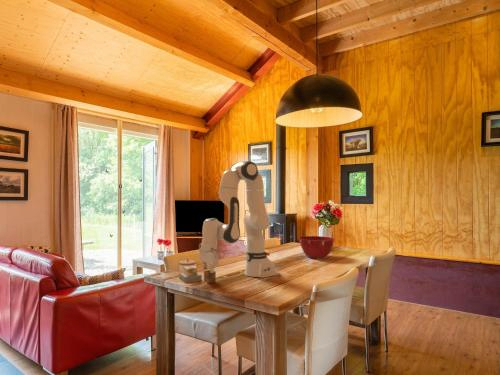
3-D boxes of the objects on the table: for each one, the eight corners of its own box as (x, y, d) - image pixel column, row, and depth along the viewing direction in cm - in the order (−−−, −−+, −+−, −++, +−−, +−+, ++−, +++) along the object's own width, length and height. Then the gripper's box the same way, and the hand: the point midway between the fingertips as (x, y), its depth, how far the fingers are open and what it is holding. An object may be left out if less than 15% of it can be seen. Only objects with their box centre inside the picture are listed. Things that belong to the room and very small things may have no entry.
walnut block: (211, 280, 188) (212, 269, 188) (215, 282, 183) (215, 271, 184) (203, 281, 185) (204, 270, 185) (207, 283, 181) (207, 272, 181)
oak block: (193, 272, 193) (193, 265, 193) (197, 274, 188) (197, 267, 188) (183, 273, 190) (183, 266, 190) (187, 275, 185) (187, 268, 185)
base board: (195, 276, 196) (195, 271, 196) (201, 280, 187) (201, 275, 187) (179, 278, 191) (179, 273, 191) (184, 282, 182) (184, 277, 182)
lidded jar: (179, 276, 194) (179, 261, 195) (178, 272, 205) (178, 257, 205) (197, 275, 197) (197, 260, 197) (195, 271, 208) (195, 257, 208)
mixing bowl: (292, 254, 270) (292, 236, 270) (322, 253, 279) (322, 235, 279) (308, 261, 243) (308, 241, 243) (341, 259, 252) (341, 239, 252)
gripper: (222, 249, 177) (220, 274, 177) (207, 243, 195) (206, 266, 194) (211, 249, 174) (210, 275, 174) (197, 244, 192) (196, 267, 191)
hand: (208, 270), depth 184 cm, fingers open, 8 cm apart
